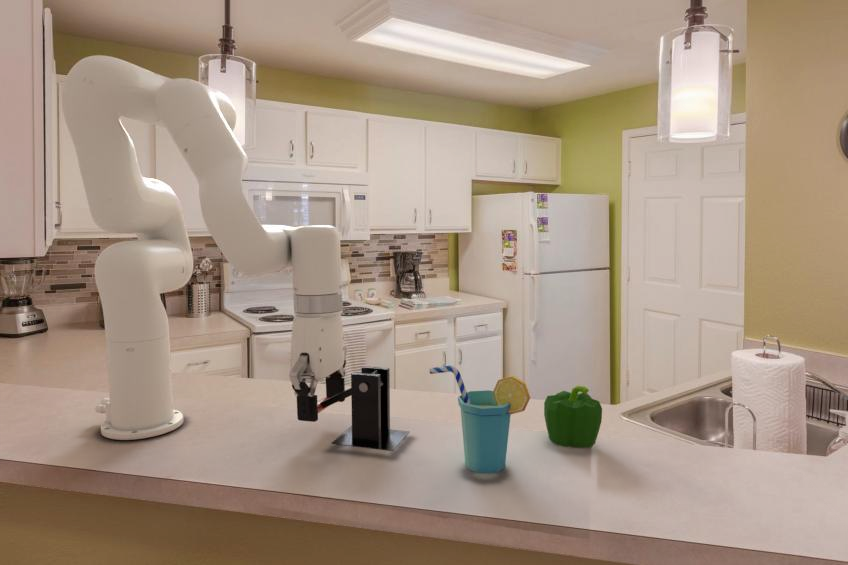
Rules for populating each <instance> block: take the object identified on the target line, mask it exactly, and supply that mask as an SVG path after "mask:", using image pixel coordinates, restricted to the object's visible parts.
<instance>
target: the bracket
mask: <svg viewBox="0 0 848 565" xmlns="http://www.w3.org/2000/svg"><path fill="white" fill-rule="evenodd" d="M360 370H361V372H352V373H351V375H350V388H351V396H350V397H351V398H350V399H351V425H350V427H348V428H347V429H346V430H345V431H344V432H343V433H341V434H340V435H339V436H338V437H337V438H335V439H334V440H333V441H332V442H331V445H340V446H346V447H347V446H348V447H357V448H362V449H363V448H364V449H370V450H371V449H373V450H381V451H387V452H388V451H389V452H394V450H396V448H398V446H399V445H400V444H401V443H402V442H403V441H404V439H405V438H407V436H408V435H409V434H410V431H406V430H399V429H391V411H390V410H391V399H390V398H391V395H390V394H391V392H390V389H391V388H390V387H391V386H390V382H391V380H390V378H391V377H390V376H391V375H390V367H381V366H380V367H379V366H368V365H363V366H362V367H361V368H360ZM376 370H377V371H378V373H379V374H370V373H372V372H374V371H376ZM380 377H381V379H382V381H383V383H384V384H383V385H382V386H381V387H380Z"/></svg>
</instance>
